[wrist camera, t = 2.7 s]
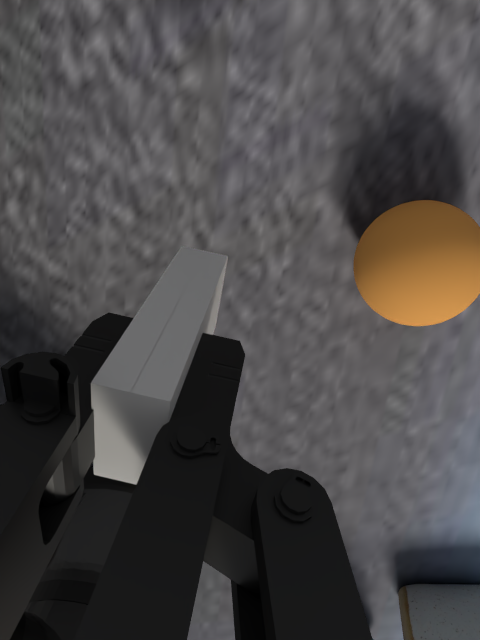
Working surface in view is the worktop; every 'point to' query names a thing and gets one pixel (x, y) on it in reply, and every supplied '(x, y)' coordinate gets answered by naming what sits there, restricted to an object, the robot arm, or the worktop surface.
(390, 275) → the ball
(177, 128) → the worktop surface
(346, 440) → the worktop surface
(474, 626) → the ceramic mug
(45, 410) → the robot arm
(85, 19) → the worktop surface
